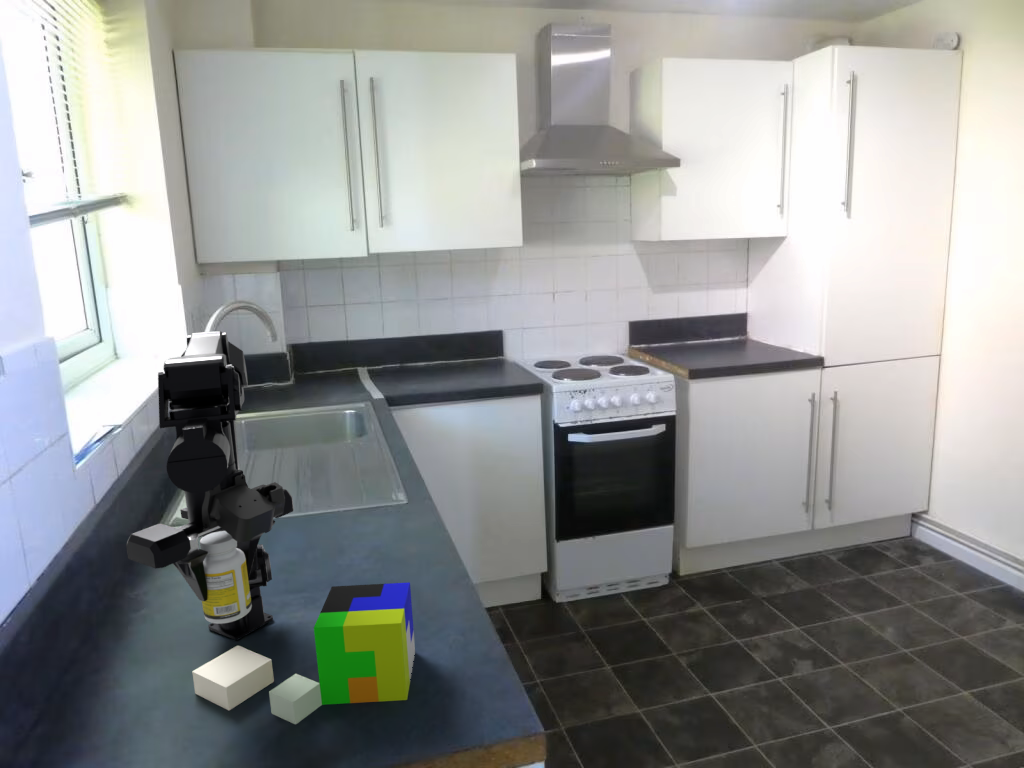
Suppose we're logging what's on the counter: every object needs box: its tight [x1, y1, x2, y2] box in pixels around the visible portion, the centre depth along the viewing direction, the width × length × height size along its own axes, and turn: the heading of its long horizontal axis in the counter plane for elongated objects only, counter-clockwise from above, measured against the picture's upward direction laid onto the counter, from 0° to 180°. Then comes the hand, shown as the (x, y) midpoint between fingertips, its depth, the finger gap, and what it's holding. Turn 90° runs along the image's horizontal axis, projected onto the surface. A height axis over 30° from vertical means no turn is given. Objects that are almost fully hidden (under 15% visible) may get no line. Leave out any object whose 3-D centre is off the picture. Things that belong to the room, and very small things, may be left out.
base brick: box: [191, 645, 275, 711], centre depth 89 cm, size 6×6×3 cm
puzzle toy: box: [313, 581, 416, 706], centre depth 90 cm, size 10×10×10 cm
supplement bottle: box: [199, 531, 252, 624], centre depth 87 cm, size 5×5×10 cm
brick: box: [268, 673, 323, 725], centre depth 85 cm, size 4×4×3 cm
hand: (224, 589), depth 87 cm, fingers closed on supplement bottle, 5 cm apart
